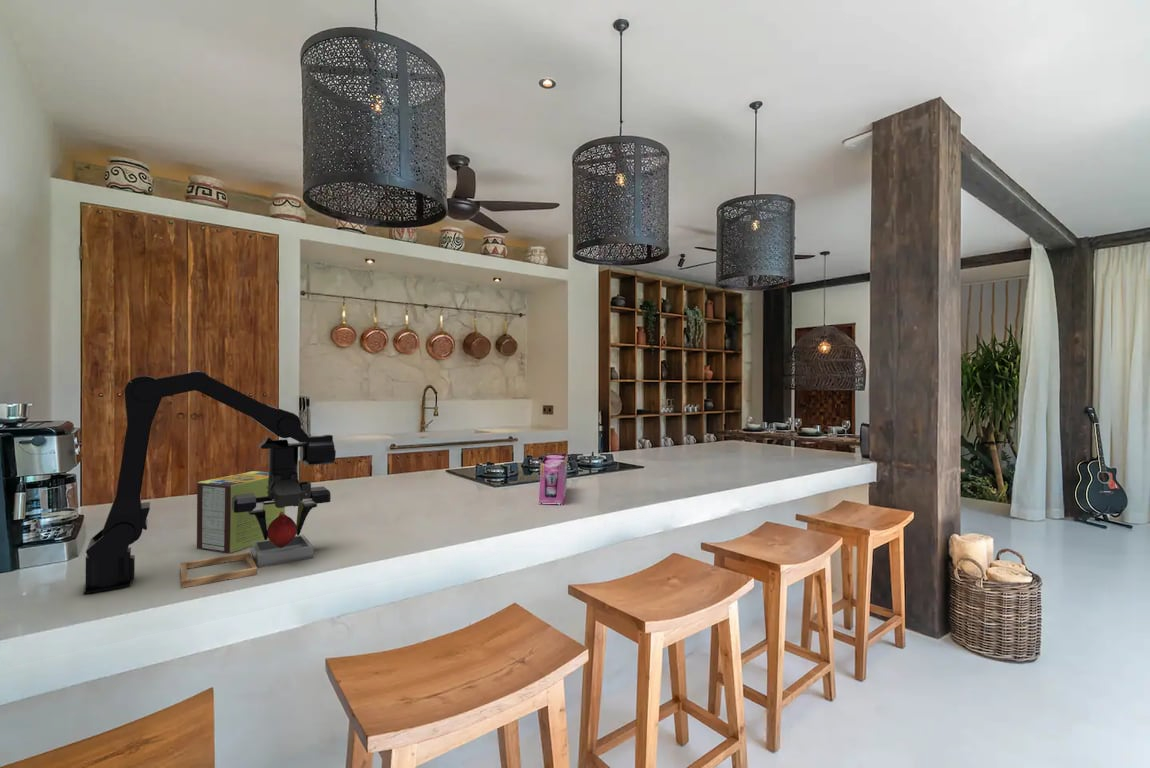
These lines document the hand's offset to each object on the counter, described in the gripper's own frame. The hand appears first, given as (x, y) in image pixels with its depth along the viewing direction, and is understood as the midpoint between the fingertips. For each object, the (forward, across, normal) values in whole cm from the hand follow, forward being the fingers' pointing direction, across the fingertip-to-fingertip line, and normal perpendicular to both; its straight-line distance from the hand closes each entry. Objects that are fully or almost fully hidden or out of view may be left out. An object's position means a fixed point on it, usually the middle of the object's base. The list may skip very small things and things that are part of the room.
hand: (282, 537), depth 117 cm
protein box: (+4, -6, +16) cm, 18 cm away
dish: (+4, 0, 0) cm, 4 cm away
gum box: (+4, +84, +14) cm, 86 cm away
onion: (+2, 0, 0) cm, 2 cm away
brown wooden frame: (+4, -12, -4) cm, 13 cm away
